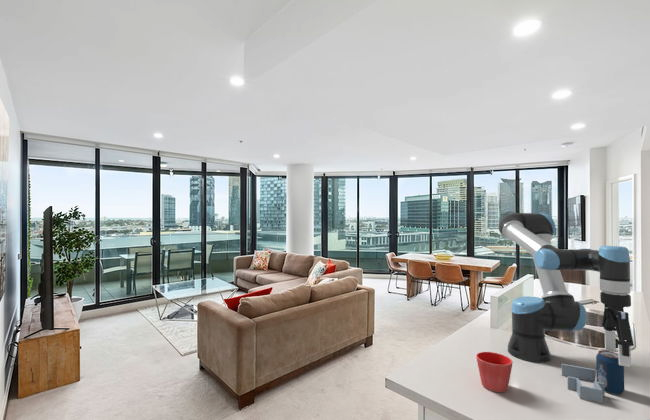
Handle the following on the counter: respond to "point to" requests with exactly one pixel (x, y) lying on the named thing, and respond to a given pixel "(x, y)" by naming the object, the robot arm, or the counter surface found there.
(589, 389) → the channel
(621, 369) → the soda can
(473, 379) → the counter surface
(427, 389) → the counter surface
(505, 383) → the flower pot
